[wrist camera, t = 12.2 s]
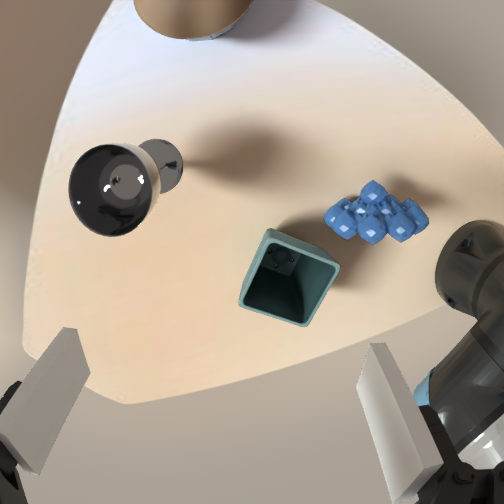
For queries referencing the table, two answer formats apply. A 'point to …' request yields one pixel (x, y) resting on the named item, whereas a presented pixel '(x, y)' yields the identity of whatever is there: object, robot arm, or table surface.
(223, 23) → the lid
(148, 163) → the wine glass
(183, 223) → the table surface
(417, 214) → the grapes
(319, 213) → the table surface
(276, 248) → the flower pot
